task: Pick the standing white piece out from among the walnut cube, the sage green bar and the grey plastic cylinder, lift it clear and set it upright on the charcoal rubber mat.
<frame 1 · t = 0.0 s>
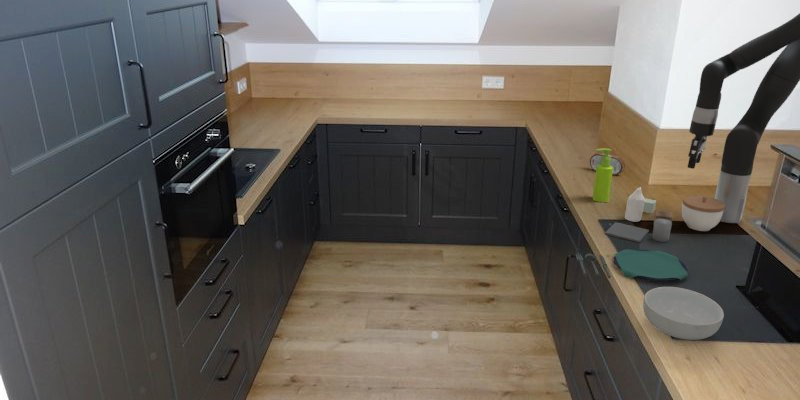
hand: (693, 165, 202), 17 cm above the worktop, tool pointing down, fingers open, 8 cm apart
tin: (605, 173, 250), on the worktop
sage bar: (641, 210, 209), on the worktop
walnut cube: (661, 227, 193), on the worktop
white piece: (632, 219, 201), on the worktop
cereal bowl: (677, 330, 136), on the worktop
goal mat: (626, 232, 189), on the worktop
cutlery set: (630, 269, 166), on the worktop
lidded bowl: (698, 227, 194), on the worktop
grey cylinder: (660, 238, 185), on the worktop
soap dispenser: (599, 199, 218), on the worktop
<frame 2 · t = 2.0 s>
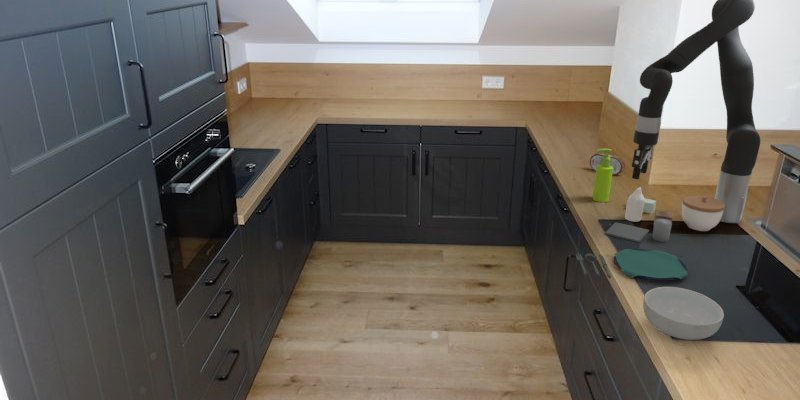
hand: (639, 175, 195), 16 cm above the worktop, tool pointing down, fingers open, 8 cm apart
nothing on the worktop moved.
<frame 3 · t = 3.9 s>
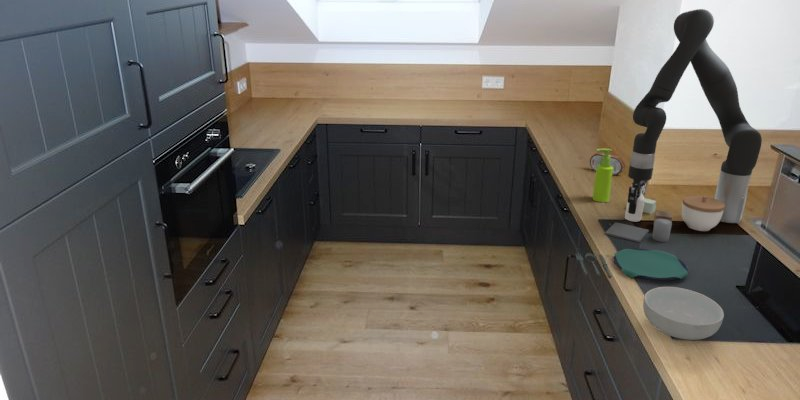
hand: (634, 210, 199), 3 cm above the worktop, tool pointing down, fingers closed on white piece, 6 cm apart
white piece: (632, 219, 201), on the worktop, touching gripper
everything else where it was.
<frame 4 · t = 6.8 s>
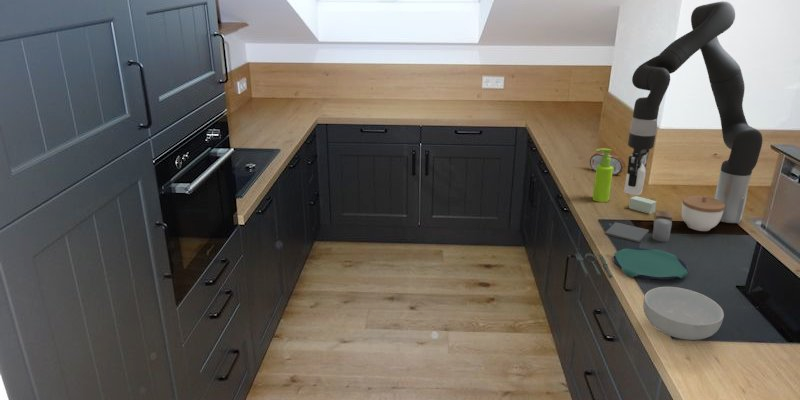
hand: (634, 183, 183), 17 cm above the worktop, tool pointing down, fingers closed on white piece, 6 cm apart
white piece: (632, 192, 184), point 14 cm above the worktop, touching gripper
everything else where it was.
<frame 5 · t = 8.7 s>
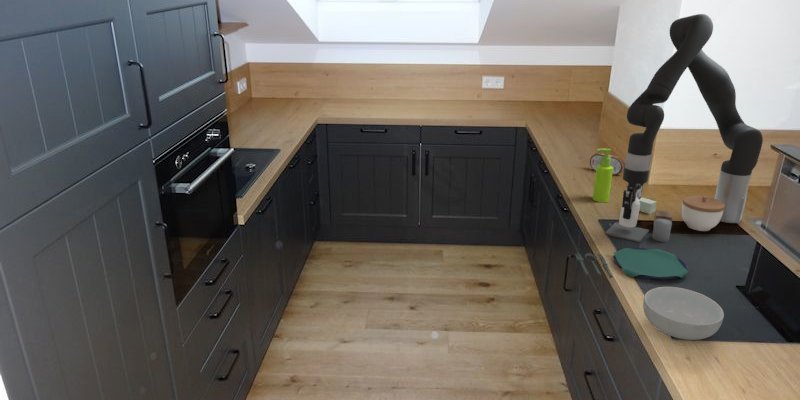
hand: (629, 215, 187), 6 cm above the worktop, tool pointing down, fingers closed on white piece, 6 cm apart
white piece: (627, 224, 188), point 3 cm above the worktop, touching gripper
everything else where it was.
when the fingers open (5 cm above the worktop, at t = 9.9 s): white piece drops 1 cm, resting on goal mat.
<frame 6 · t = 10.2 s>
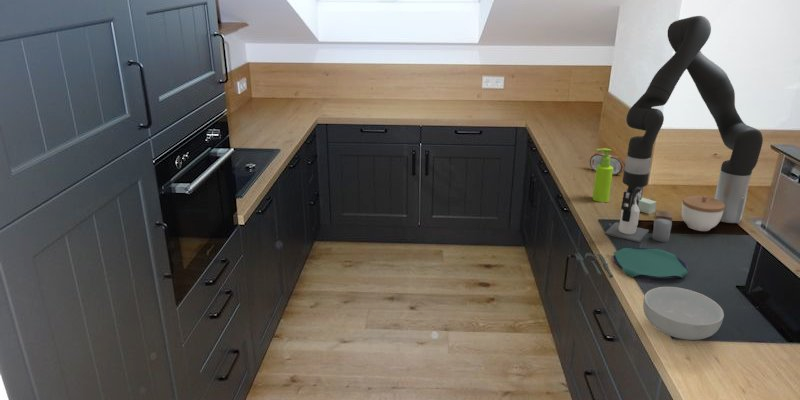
hand: (629, 217, 187), 6 cm above the worktop, tool pointing down, fingers open, 8 cm apart
white piece: (627, 231, 189), resting on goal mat
everything else where it was.
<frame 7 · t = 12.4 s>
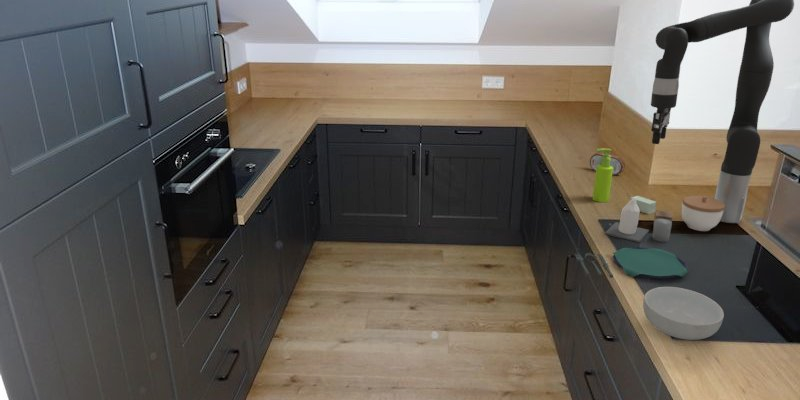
hand: (658, 140, 189), 28 cm above the worktop, tool pointing down, fingers open, 8 cm apart
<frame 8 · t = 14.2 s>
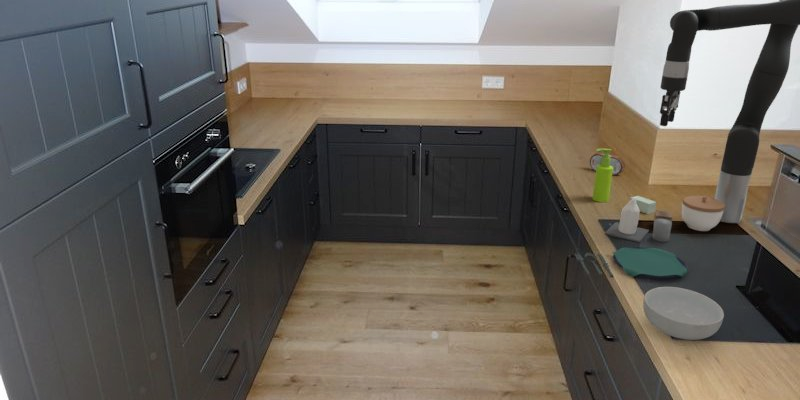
hand: (666, 123, 193), 33 cm above the worktop, tool pointing down, fingers open, 8 cm apart
at the end: white piece inside the target area on the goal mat (0.3 cm from its centre), point 0.4 cm above the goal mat's base; white piece tilted 0°; the gripper is holding nothing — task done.
